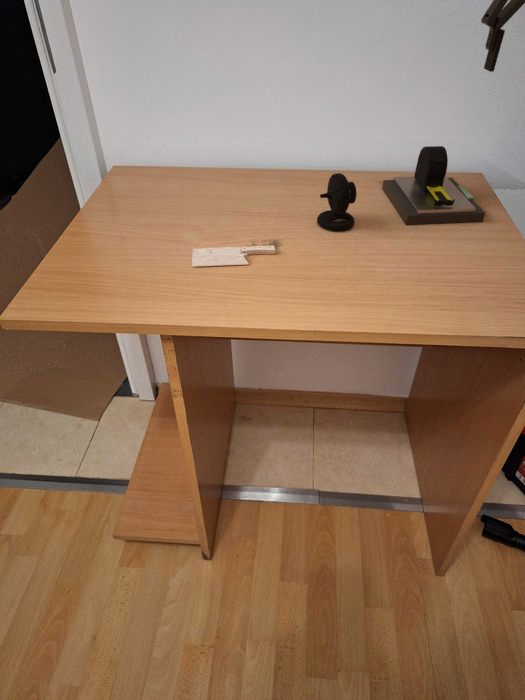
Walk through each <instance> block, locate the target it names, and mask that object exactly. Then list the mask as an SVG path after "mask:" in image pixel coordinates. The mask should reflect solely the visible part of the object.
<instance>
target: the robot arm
mask: <svg viewBox="0 0 525 700" xmlns="http://www.w3.org/2000/svg"><path fill="white" fill-rule="evenodd" d="M524 5H525V0H492V2H491V4H489V6H488V8H487V10H486V11H485V13H484V14H483V16H482V17H481V21H480V22H481V23H482V24H483V25H485V26H487V27H488V35H487V38H486V42H485V49H486V50H487V53H486V59H485V62H484V66H483V69H484V70H487V71H488V72H489V73H492V72H494V71H495V68H496V65H497V61H498V58H499V54H500V51H501V48H502V44H503V40H504V36H505V32H506V30H505V29H502V28H503V27H504V26H505V25H506V24H507V23H508V21H510V20H511V19H512V17H514V15H515V14H516V13H517V12H518V11H519V10H520V9H521V8H522V7H523V6H524Z"/></svg>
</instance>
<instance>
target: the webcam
mask: <svg viewBox="0 0 525 700" xmlns="http://www.w3.org/2000/svg"><path fill="white" fill-rule="evenodd" d="M326 191H327V192H325V193H320V194H319V198H320V199H327V203H328V205H329V208H330V210H324V211H322V212H320V213H319V214H318V215H317V217H316V222H317V224H318V226H319V227H321V228H322V229H324V230H327V231H330V232H343V231H347V230H349V229H351V228H352V227H353V226H354V225H355V217H354V216H353V215H352V214H351V213H349V212H347V211H348V208H349V206H350V205H351V204H354V203H356V200H357V187H356V184H355V182H354V181H348V179H347V177H346V175H345V174H343V173H342V172H341V173H340V172H338V173H337V172H336V173H333V174H332V175H331V176H330V177H329V178H328V184H327V189H326ZM339 220H344V221H346V222H343V223H334V221H339Z"/></svg>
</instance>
